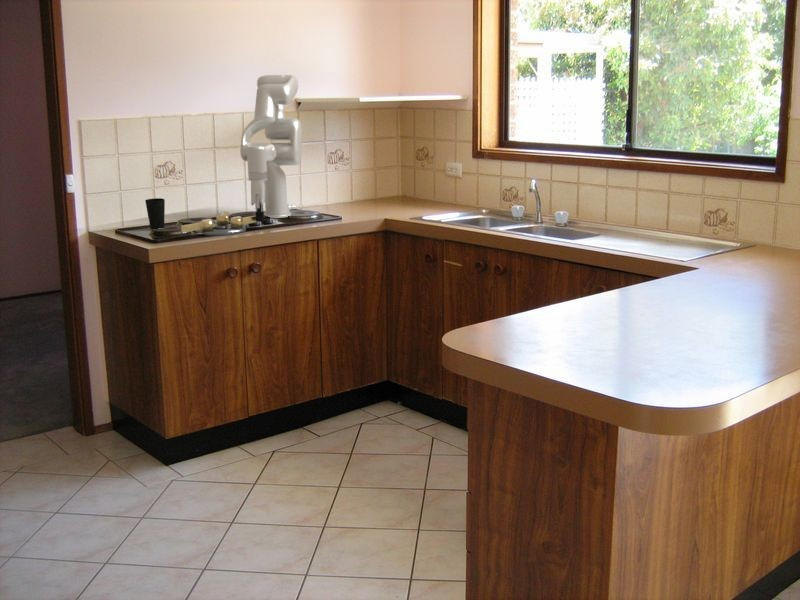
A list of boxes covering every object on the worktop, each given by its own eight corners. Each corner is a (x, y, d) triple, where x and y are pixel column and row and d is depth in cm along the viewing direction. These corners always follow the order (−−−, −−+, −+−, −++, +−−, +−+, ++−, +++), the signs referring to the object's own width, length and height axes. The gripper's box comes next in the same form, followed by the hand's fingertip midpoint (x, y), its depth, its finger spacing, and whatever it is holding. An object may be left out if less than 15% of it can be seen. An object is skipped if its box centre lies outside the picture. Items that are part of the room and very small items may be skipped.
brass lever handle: (235, 228, 360) (234, 218, 359) (228, 226, 364) (227, 216, 363) (263, 223, 370) (263, 213, 368) (257, 222, 373) (256, 212, 372)
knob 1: (228, 225, 367) (227, 215, 366) (216, 225, 367) (215, 215, 366) (232, 218, 381) (231, 209, 380) (221, 219, 381) (220, 209, 379)
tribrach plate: (225, 224, 377) (225, 218, 377) (256, 230, 364) (255, 223, 364) (185, 231, 363) (185, 225, 362) (215, 237, 350) (215, 231, 349)
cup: (155, 231, 364) (153, 202, 361) (143, 229, 369) (141, 200, 365) (170, 228, 370) (168, 199, 367) (159, 226, 375) (156, 197, 371)
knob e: (208, 228, 362) (208, 217, 361) (216, 229, 359) (215, 219, 358) (179, 233, 352) (178, 223, 351) (186, 234, 349) (185, 224, 348)
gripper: (250, 174, 370) (252, 218, 374) (246, 178, 355) (248, 224, 360) (268, 173, 370) (271, 218, 375) (265, 178, 356) (267, 224, 360)
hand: (260, 221), depth 367 cm, fingers closed
